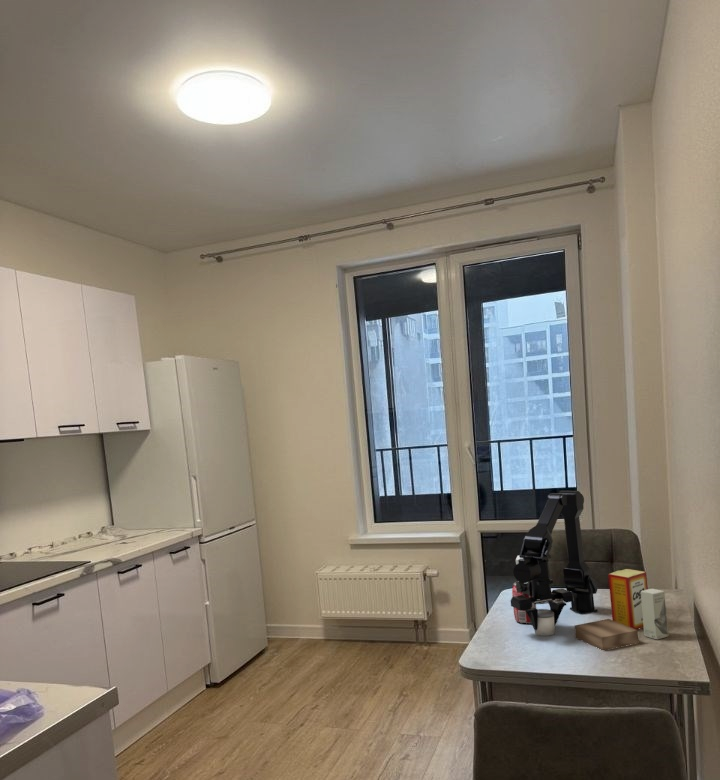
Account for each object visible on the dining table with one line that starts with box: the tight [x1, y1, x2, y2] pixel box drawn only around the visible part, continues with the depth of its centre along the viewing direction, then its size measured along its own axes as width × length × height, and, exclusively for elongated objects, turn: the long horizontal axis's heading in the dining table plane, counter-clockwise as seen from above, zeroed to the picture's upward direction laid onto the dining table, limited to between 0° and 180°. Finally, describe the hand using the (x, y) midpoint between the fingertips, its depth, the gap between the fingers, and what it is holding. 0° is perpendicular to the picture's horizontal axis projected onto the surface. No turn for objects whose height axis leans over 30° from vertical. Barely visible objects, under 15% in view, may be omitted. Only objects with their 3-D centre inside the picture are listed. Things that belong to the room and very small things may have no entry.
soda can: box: [511, 580, 537, 625], centre depth 203 cm, size 7×7×12 cm
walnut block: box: [574, 618, 640, 651], centre depth 181 cm, size 12×12×4 cm
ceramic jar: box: [534, 608, 556, 637], centre depth 191 cm, size 6×6×6 cm
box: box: [641, 588, 669, 640], centre depth 182 cm, size 5×4×13 cm
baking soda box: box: [608, 568, 649, 630], centre depth 192 cm, size 10×6×16 cm
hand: (544, 628), depth 191 cm, fingers closed on ceramic jar, 6 cm apart
